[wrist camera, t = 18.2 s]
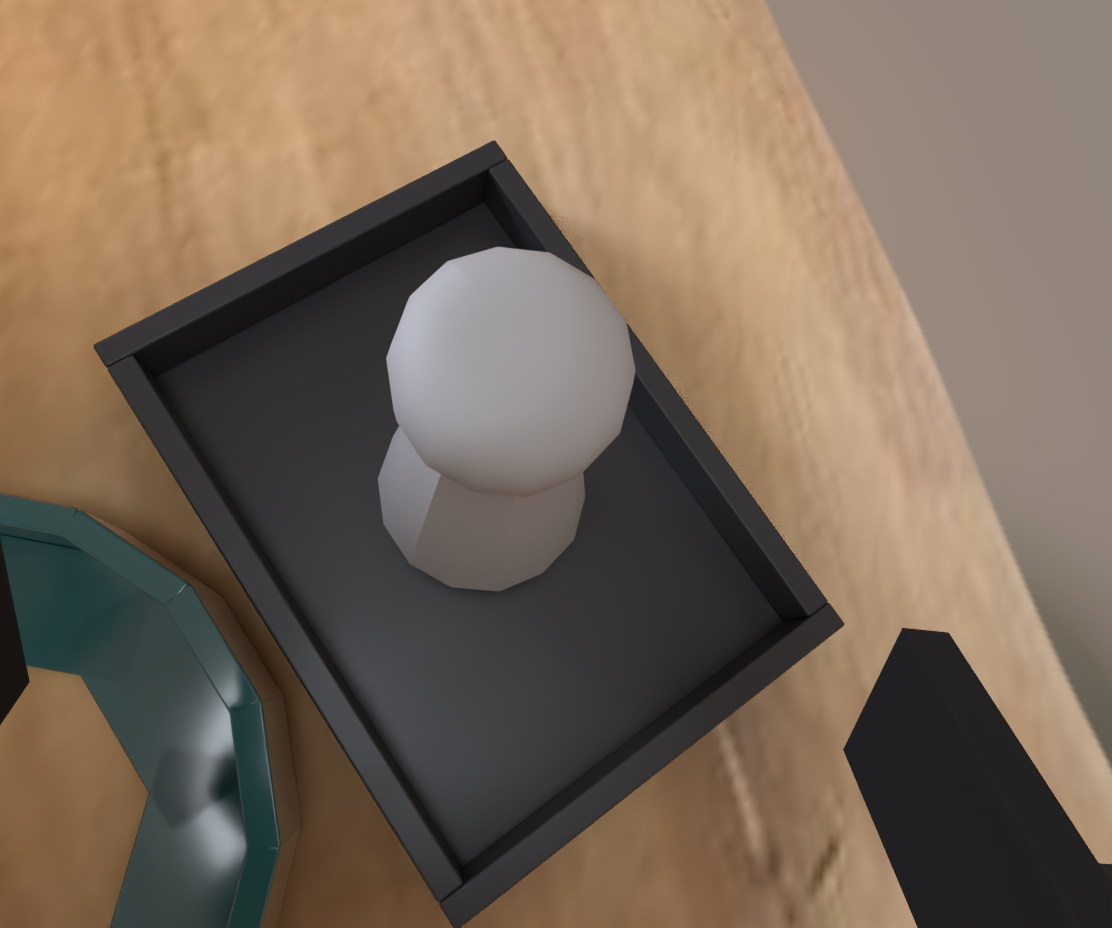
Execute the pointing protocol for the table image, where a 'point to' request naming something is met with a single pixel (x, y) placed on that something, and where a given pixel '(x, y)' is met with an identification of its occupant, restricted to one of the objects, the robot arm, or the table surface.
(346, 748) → the tray
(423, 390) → the salt shaker
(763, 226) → the table surface
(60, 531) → the teal ring
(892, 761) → the robot arm
